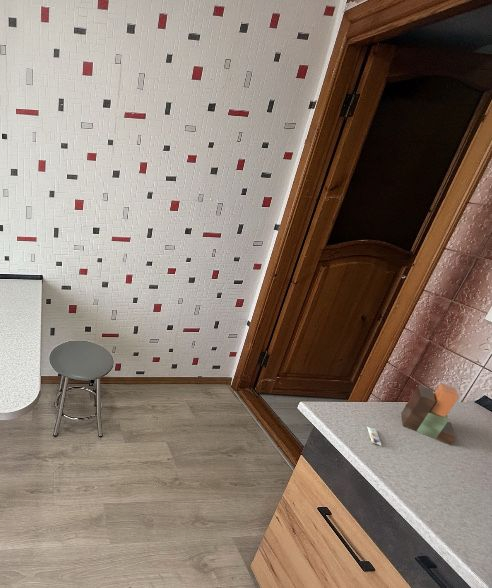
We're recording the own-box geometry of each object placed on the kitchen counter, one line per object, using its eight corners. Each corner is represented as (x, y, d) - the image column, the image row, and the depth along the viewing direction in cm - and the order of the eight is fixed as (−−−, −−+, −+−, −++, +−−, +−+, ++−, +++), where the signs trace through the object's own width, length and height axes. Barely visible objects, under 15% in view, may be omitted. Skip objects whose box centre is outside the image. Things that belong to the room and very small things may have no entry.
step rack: (446, 430, 96) (467, 401, 91) (450, 445, 91) (472, 414, 86) (400, 413, 101) (418, 384, 97) (402, 425, 96) (421, 396, 92)
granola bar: (365, 427, 94) (367, 424, 94) (375, 431, 93) (377, 428, 93) (370, 443, 89) (372, 440, 88) (381, 447, 88) (383, 444, 87)
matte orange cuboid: (442, 407, 94) (455, 388, 91) (445, 417, 91) (459, 397, 88) (427, 402, 96) (440, 383, 93) (430, 411, 92) (443, 391, 89)
